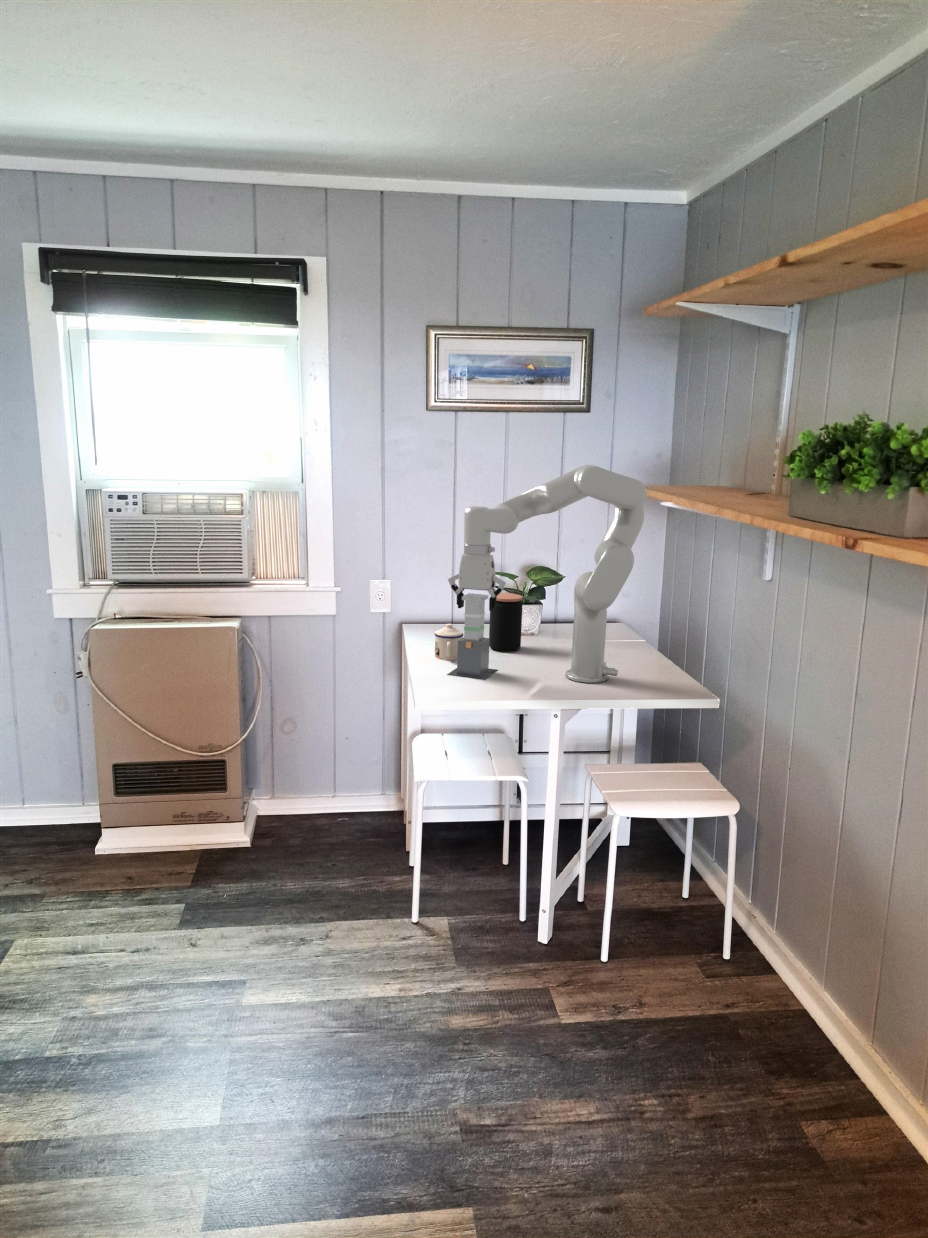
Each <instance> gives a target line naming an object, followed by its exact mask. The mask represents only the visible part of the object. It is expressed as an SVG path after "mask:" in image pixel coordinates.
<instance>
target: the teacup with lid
mask: <svg viewBox="0 0 928 1238" xmlns="http://www.w3.org/2000/svg"><path fill="white" fill-rule="evenodd" d="M434 636H435V637H434V658H435V659H438V660H441V661H457V656H458V640H460V639H462V638H463V637H464V631H462V630H460V629H457V628H456V627H454V626H453V624H452V623H446V624H445V626H444V627H442V628H441V629H440V628H439V629H437V630H436V631H435V632H434Z"/></svg>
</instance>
